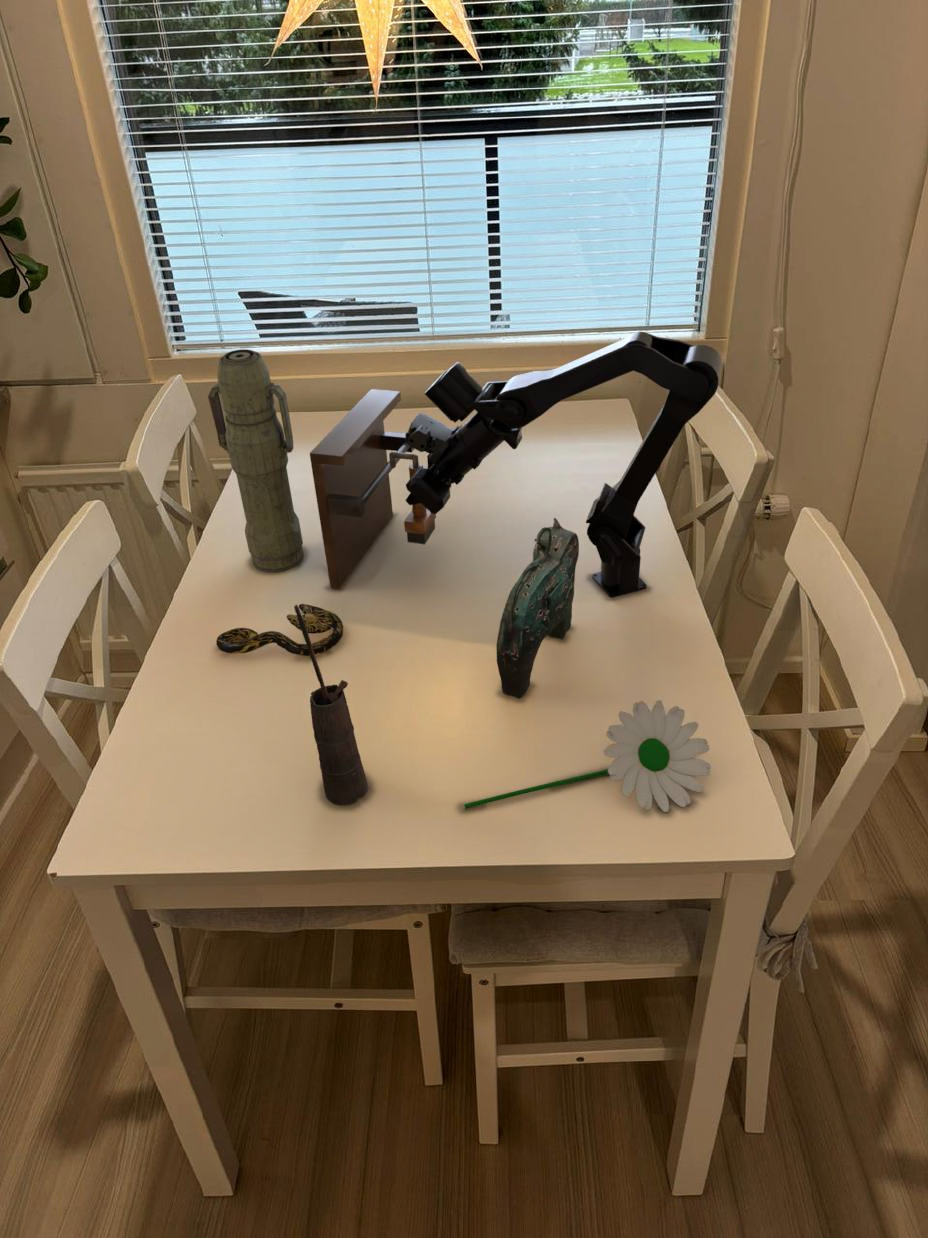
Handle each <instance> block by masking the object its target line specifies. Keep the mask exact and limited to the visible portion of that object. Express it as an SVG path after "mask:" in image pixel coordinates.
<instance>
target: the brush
mask: <svg viewBox="0 0 928 1238" xmlns="http://www.w3.org/2000/svg"><path fill="white" fill-rule="evenodd" d="M388 456H389V457H388V458H389V461H390V466H391V468H393V469H395V468H396V467H397V464H396V460H395V458H399V459H400V460H411V461H412V463H410V464H409V465H408V472H409V473H408V475H409V479H410V478H411V477H412V476H413V475H414V474H415V472H416V470H417V469H418V468H419V466H421V467H422V468H424V464H422V463H420V462H419V456H418V454H416V453H409V452H406V453H398V452H397V451H390V452H389V454H388ZM411 506H412V507H411V511H410V512H409V514H408V515H407V516H406V518H405V520H404V521H403V525H404V532H405V533H406V539H407V543H412V544H417V545H426V544H427V542H428V540H429V538H430V537H431V535H432V534H433V533H434V531H435V530H436V520H435V519H436V518H437V514H432V513H431V512H430V511H429V510H428V509H427V508H425V507H424V506H423V505H422V504H421V503H419V504H414V505H411Z"/></svg>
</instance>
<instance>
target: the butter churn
mask: <svg viewBox="0 0 928 1238" xmlns="http://www.w3.org/2000/svg"><path fill="white" fill-rule="evenodd" d="M293 607H294V608H293V609H294V612H295V615H297V619H298V622H299V625H300V628H301V630H302V631H301V630H300V631H301V634H302V636H303V639H304V643H305V644H306V645H307V648H308V651H309V654H310V656H309V657H310V660H311V663H312V667H313V669H314V672H315V675H316V678H317V681H318V682H319V686H320V687H319V688H317V689H315V690H314V691H311V693H310V697H309V704H310V715H311V723H312V724H311V725H312V729H313V737H314V741H315V744H316V749H317V753H318V760H319V769H320V771H321V779H322V785H323V790H324V795H325V798H326V799H327V801H329V802H330V803H331V804H333V805H336V806H346V805H347V806H348V805H353V804H356V803H357V801H358V799H359V798H364V797H365V796H366V795H367V793H368V791H369V784H368V783H369V782H368V779H367V776H366V772H365V769H364V765H363V762H362V759H361V754H360V752H359V748H358V743H357V740H356V736H355V727H354V724H353V722H352V718H351V713H350V710H349V709H350V708H349V705H348V702H347V698H346V694H345V691H344V690H345V689H346V688H347V687H348V685H349V683H348V682H347V681H346V680H343V679H341V681H340V682H339V683H338V684H331V685H330V684H328V685H325V682H324V678H323V674H322V673H321V669H320V665H319V664H318V663H319V662H318V660H317V657H316V655H315V654H314V651H313V647H312V641H311V638H310V635H309V634H310V633H308V631H307V628H306V625H305V622H304V620H303V618H302V615H303V614H302V612H301V610H300V608H299V605H298V604H295V605H294V606H293Z"/></svg>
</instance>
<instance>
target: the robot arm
mask: <svg viewBox="0 0 928 1238" xmlns="http://www.w3.org/2000/svg"><path fill="white" fill-rule="evenodd" d="M723 364H724V363H723V359H722V357H721V355H720V354H719V352H718V351H717V350H716V349H715V348H714V347H712V346H710V345H706V344H696V345H694V344H691V343H688V342H685V341H683V340H680V339H673V338H667V337H661V336H657V335H654V334H651V333H649V332H645V331H635V332H633V333H631V334H629V335H628V336H627V337H625V338H623V339H620V340H619V341H618V340H617V342H614V343H611V344H609V345H607V346H605V347H603V348H600V349H598V350H596V351H593V352H591V353H589V354H587V355H584V356H581V357H580V358H577V359H575V360H573V361H570V362H568V363H566V364H564V365H560V366H559V367H557V368H554V369H549V370H533V371H530V372H526V373H525V372H524V373H521V374H517V375H514V376H512V377H511V378H510V379H509V380H499V381H497V380H496V381H487V382H486V384H485V385H484V386H483V387H482V386H481V385H480V384H479V383H478V382H477V380H475V379H474V378H473V377H472V375H470V373H469V372H468V371H467V370H466V368H465V366H464V365H463V364H462V363H460V361H457V362H455V363H454V365H452V366H450V368H448V369H445V371H443V372H442V373H441V375H439V377H438V378H437V379H436V380H434V382H433V383H432V384H431V385H430V386H429V387H428V388H427V390H426V391H425V392H424V393H423V394H424V395H425V396H426V397H427V398H428V400H430V401H431V403H433V405H434V406H435V407H436V408H437V409H438V410H439V411H440V412H441V413H442V414H443V415H445V417H446V418H447V419H448V420H449V421H450V422H453V423H454V424H456V423H457V422H458V421H460V422H463V421H464V420H466V419H467V418H468V417H470V415H471V414H472V413H473V412H474V411H475V412H476V413H474V415H473V416H472V417H470V418H469V419H468V420H467V421H466V422H465V423H464V424H463V425H462V424H460V425H456V426H455V427H448V426H446V424H444V423H443V422H441V421H439V420H438V419H435V418H433V417H432V416H430V415H428V414H426V413H422V412H420V413H418V414H417V415H416V416H415V417H414V418H413V420H412V421H411V423H410V425H409V427H408V429H407V431H406V433H405V436H406V437H405V441H406V443H408V445H409V446H410V447H412V448H414V450H416V451H419V453H424V452H425V453H427V456H426V457H427V467H423V468H422V467H421V466H419V468H418V469H417V470H416V472H415V474H414V475H413V476H412V477H411V478H410V477H409V479H408V481H407V482H406V484H405V488H406V490H407V491H408V492H409V494H408V496H407V497H406V498H405V503H407V504H408V505H409V506H412V505H414V504H419V503H421V504H422V505H423V506H424V507H425V508H427V509H428V510H429V511H430V512H431V513H432V514H436V515H437V514H438V513H439V512H440V511H441V510H443V509H444V508H445V506H446V505H447V503H448V502H449V500H450V498H451V488H452V484H455V485H457V486H458V485H459V483H461V482H462V481H463V479H464V478H465V476H466V475H467V474H468V473H469V472H470V471H471V470H476V469H477V468H478V467H479V466H480V465H481V463H482V462H483V460H484V459H485V458H486V457H487V456H489V455H490V454H491V453H492V452H493V451H494V450H496V448H498V447H499V446H500V445H501V444H503V442H505V443H506V444H507V445H508V446H509V447H510V448H511V449H512V450H516V449H517V448H518V447H519V445H520V444H521V441H522V440H523V434H522V429H523V428H525V427H526V426H527V425H529V424H531V423H532V422H534V421H535V420H537V419H539V418H540V417H541V416H543V415H544V414H545V413H546V412H547V411H549V410H550V409H551V408H553V407H554V406H555V405H557V404H559V402H562V401H563V400H566V399H567V398H571V397H574V396H576V395H577V394H581V393H583V392H585V391H588V390H591V389H592V388H595V387H597V386H600V385H602V384H605V383H607V382H610V381H612V380H614V379H617V378H619V377H621V376H625V375H626V374H629V373H631V372H636V373H638V374H641V375H642V376H644V377H646V378H647V379H649V380H651V381H652V382H653V383H655V384H656V385H658V386H659V387H661V388H663V389H665V390H668V392H667V395H666V398H665V401H664V404H663V405H662V406H661V407H662V408H661V409H660V410H659V412H658V414H657V416H656V417H655V419H654V421H653V423H652V424H651V426H650V428H649V430H648V432H647V433H646V434H645V436H644V438H643V440H642V442H641V443H640V445H639V447H638V449H637V450H636V452H635V454H634V456H633V457H632V459H631V461H630V462H629V464H628V466H627V468H626V469H625V471H624V473H623V475H622V476H621V478H620V480H619V481H618V482H616V484H614V485H613V486H611V485H609V484H608V483H607V482H604V483H603V486H602V488H601V491H600V494H599V495H598V496H597V498H596V499H594V500H593V502H592V505H591V507H590V510H589V512H588V515H587V517H586V520H585V523H586V524H588V527H587V530H586V536H587V537H588V540H589V542H591V544H592V545H593V546H594V547H595V548H596V550H597V553H598V556H599V559H600V572H597V573H593V574H592V575H591V578H592V579H593V580H594V582H595V583H596V584H597V585H598V587H599V588H600V589H601V590H602V591H603V592H604V593H605V594H606V596H608V597H609V598H611V599H613V598H614V599H615V598H617V597H622V596H625V595H628V594H633V593H636V592H640V591H644V590H647V588H648V584H647V583H646V582H645V581H644V580H643V579H642V578H641V577H640V572H641V559H642V556H641V545H642V541H643V539H644V534H645V531H646V526H645V525H644V524H643V523H642V522H641V520H639V519H638V518H637V516H635V513H636V510H637V507H638V504H639V501H640V500H641V498H642V496H644V493H645V491H646V490H647V488H648V486H649V484H650V483H651V481H652V480H653V478H654V476H655V475H656V473H657V472H658V470H659V468H660V466H661V465H662V464H663V462H664V460H665V458H666V457H667V455H668V454H669V452H670V450H671V448H672V446H673V445H674V444H675V442H676V440H677V438H678V437H679V435H680V433H682V430H683V428H684V427H685V425H686V424H687V423H688V422H689V421H690V420H692V419H693V418H694V417H695V416H696V415H698V414H699V413H700V412H701V410H703V408H704V407H705V406H706V405H707V404H708V403H709V401H710V400H711V399H712V398H713V397H714V396H715V394H716V392H717V390H718V387H719V385H720V379H721V375H722V371H723Z"/></svg>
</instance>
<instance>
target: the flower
mask: <svg viewBox="0 0 928 1238" xmlns="http://www.w3.org/2000/svg"><path fill="white" fill-rule="evenodd" d="M632 714H633V715H632ZM632 714H631V713H629V712H626V711H622V710H620V711H618V718H619V722H620V723H621V724H622V725H621V724H612V725H608V728H607V729H608V730H607V731H606V737H607V738H608V739H609V740H610V741H611V742H614V743H612V744H610V745H608V746H607V747H605V748H604V750H603V755H604V756H605V757H608V758H611V759H612V758H615V759H613V760H612V762H611V763H610V764H609V766H608V768H607V769H603V770H599V771H595V772H590V773H587V774H582V775H578V776H573V777H570V778H565V779H561V780H556V781H552V782H548V783H547V782H546V783H543V784H539V785H535V786H530V787H528V788H523V789H519V790H514V791H510V792H506V793H502V794H498V795H494V796H491V797H487V798H482V799H479V800H476V801H471V802H467V803H464V804H463V806H464V809H465V810H468V809H472V808H474V807H478V806H482V805H486V804H490V803H493V802H498V801H501V800H505V799H509V798H513V797H514V798H515V797H517V796H522V795H525V794H530V793H534V792H537V791H538V792H539V791H542V790H546V789H551V788H556V787H559V786H564V785H568V784H571V783H577V782H580V781H584V780H589V779H593V778H597V777H601V776H605V775H609V778H610V780H611V781H612V782H614V781H619V780H620V779H622V778H623V779H622V783H621V789H620V791H621V795H622V796H623V797H625V798H626V797H627V798H628V797H629V796H630V795H631V794H632V792H633V791H634V790H635V792H634V793H635V800H636V803H637V806H638V807H639V808H643V809H644V810H647V811H649V810H650V809H651V807H652V804H653V799H654V801H655V802H656V805H657V806H658V807H659V809H660V810H661V811H662V812H663V813H668V812H669V811H670V802H669V799H670V800H671V801H672V802H674V803H675V805H677V806H678V807H680V808H682V809H684V808H686V807H687V806H689V805H691V803H692V801H691V797H690V796H689V793H688V792H687V791H686V789H688V790H691V791H693V792H695V793H703V791H704V787H703V785H702V783H700V781H699V780H697V779H696V778H695V777H693V776H697V777H708V776H710V774H711V768H712V767H711V764H710V763H709V762H707V761H706V760H704V759H701V758H697V757H698V756H701V755H703V754H706V753H707V752H708V751H709V750H710V745H709V743H708V740H707V739H706V738H703V737H693V736H694V734H695V733H696V732H697V730H698V728H699V723H698V722H697V721H691V722H687V723H685V724H683V723H684V718H685V710H684V709H683V708H680V707H679V706H677V705H674V706H673V707H671V708H670V709H668V711H667V713H666V711H665V708H664V704H663V701H662V700H660V699H659V700H656V701H655V703H654V705H652V709H650V707H649V706H648V705H647V704H646V702H645V701H643V700H640V701H638V702H637V701H636V702H634V703H633V705H632ZM692 737H693V738H692ZM684 788H685V789H684ZM668 797H669V798H668Z"/></svg>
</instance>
